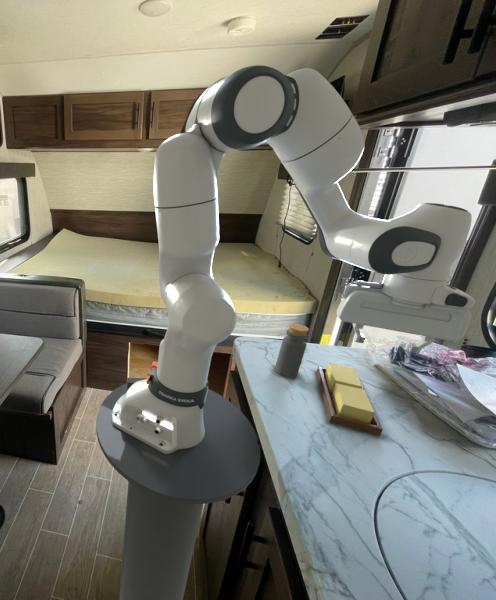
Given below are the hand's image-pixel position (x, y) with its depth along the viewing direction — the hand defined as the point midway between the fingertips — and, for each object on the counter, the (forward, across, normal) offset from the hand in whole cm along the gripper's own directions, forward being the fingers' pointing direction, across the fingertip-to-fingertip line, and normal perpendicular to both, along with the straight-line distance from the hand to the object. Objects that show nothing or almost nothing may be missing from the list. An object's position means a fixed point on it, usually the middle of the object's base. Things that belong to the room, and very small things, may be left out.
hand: (384, 346), depth 70 cm
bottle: (+20, -14, +14) cm, 28 cm away
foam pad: (+19, -1, +2) cm, 19 cm away
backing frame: (+20, -1, +7) cm, 21 cm away
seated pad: (+19, -1, +12) cm, 23 cm away
